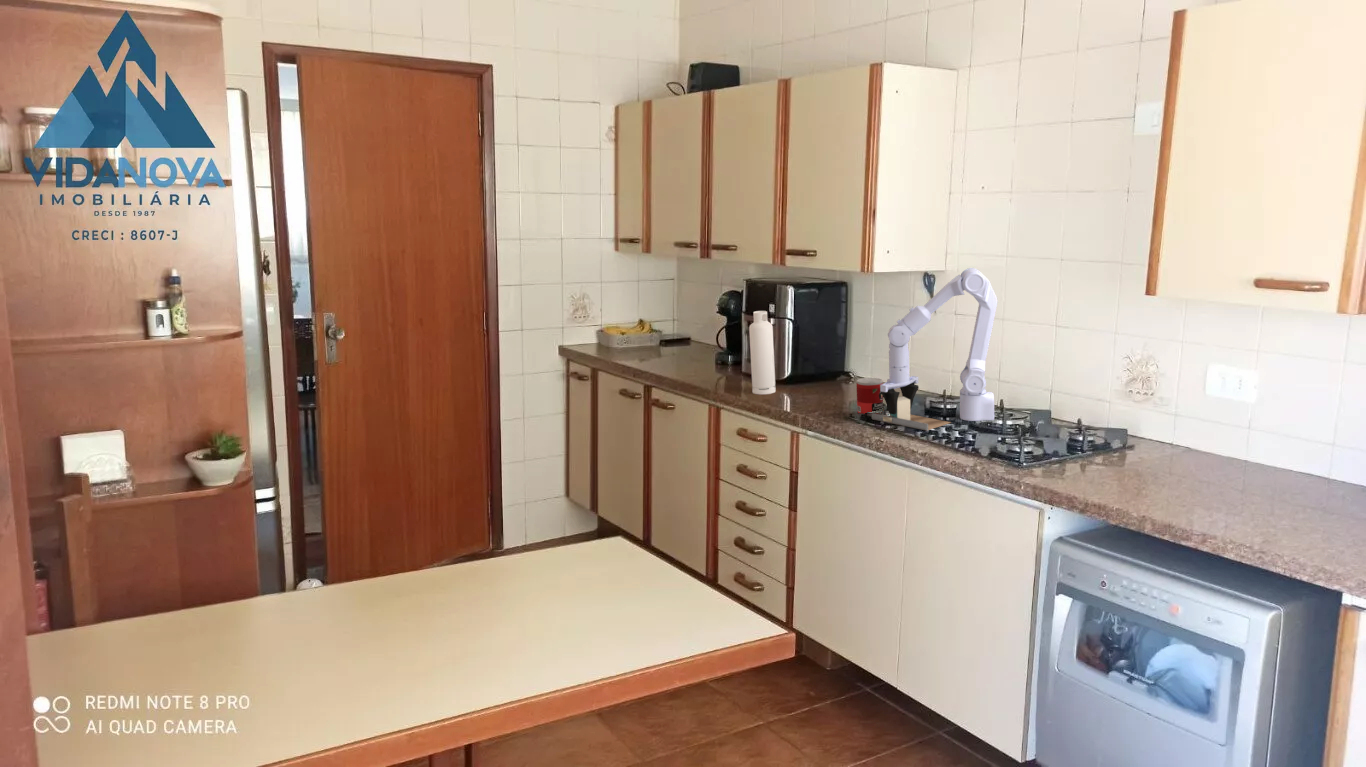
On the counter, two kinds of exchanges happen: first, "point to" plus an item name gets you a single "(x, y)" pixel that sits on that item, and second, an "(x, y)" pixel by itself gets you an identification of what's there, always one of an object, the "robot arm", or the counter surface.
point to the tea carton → (902, 408)
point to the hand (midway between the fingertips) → (900, 411)
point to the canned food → (869, 395)
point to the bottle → (762, 354)
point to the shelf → (911, 421)
